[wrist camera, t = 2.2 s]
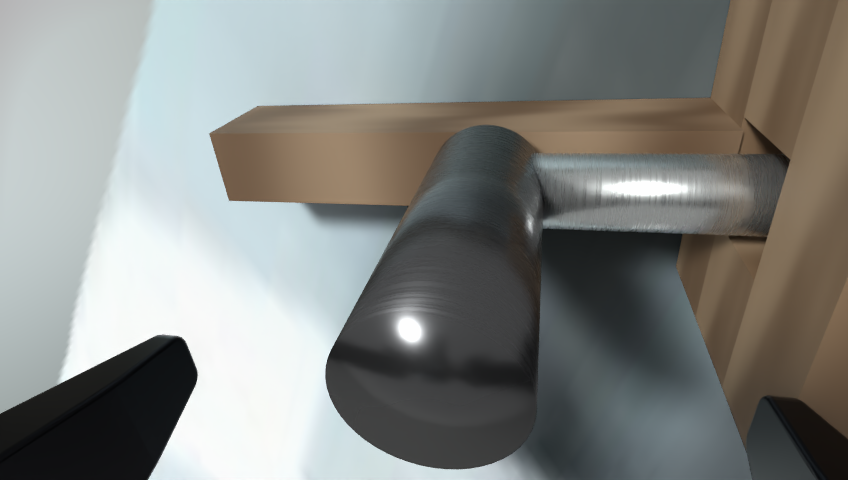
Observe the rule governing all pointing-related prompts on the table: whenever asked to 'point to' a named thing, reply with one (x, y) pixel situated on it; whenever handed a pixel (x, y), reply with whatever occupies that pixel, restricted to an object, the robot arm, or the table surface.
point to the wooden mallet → (644, 133)
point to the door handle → (506, 281)
